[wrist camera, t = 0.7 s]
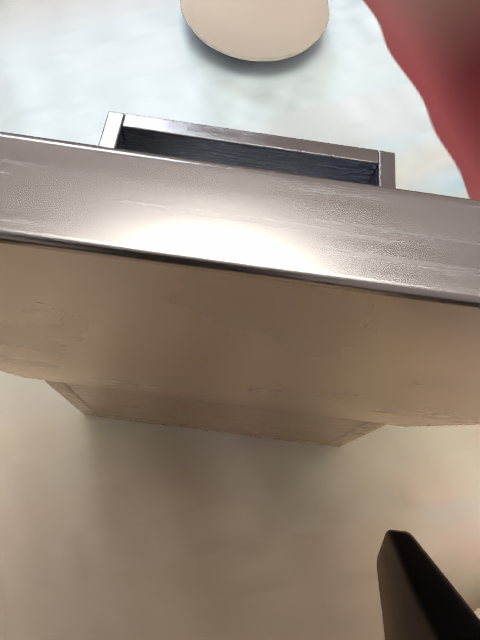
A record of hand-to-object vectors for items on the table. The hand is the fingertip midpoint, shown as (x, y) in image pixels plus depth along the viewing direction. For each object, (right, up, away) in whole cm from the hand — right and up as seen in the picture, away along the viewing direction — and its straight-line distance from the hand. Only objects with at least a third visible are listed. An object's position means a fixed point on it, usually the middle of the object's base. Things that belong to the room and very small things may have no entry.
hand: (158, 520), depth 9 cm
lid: (+1, +3, +1) cm, 4 cm away
